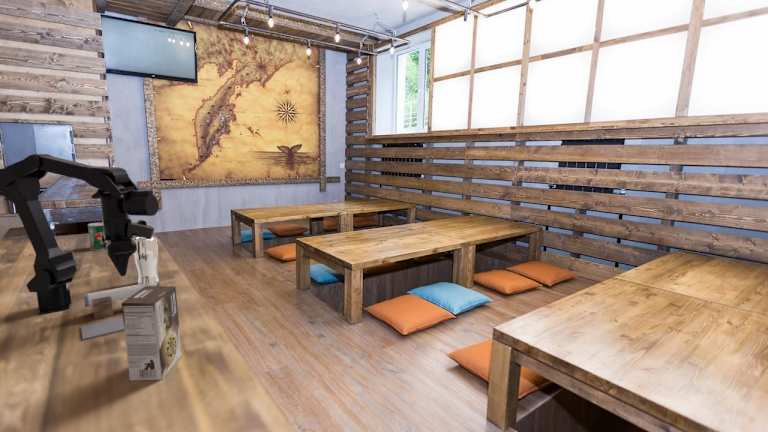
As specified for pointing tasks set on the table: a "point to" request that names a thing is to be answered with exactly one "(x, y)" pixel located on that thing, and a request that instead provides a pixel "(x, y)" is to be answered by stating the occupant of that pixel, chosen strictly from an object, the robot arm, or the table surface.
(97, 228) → the canned tomato
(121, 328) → the mat
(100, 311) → the post left
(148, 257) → the beer glass
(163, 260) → the table surface
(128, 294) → the rail
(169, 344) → the coffee box
